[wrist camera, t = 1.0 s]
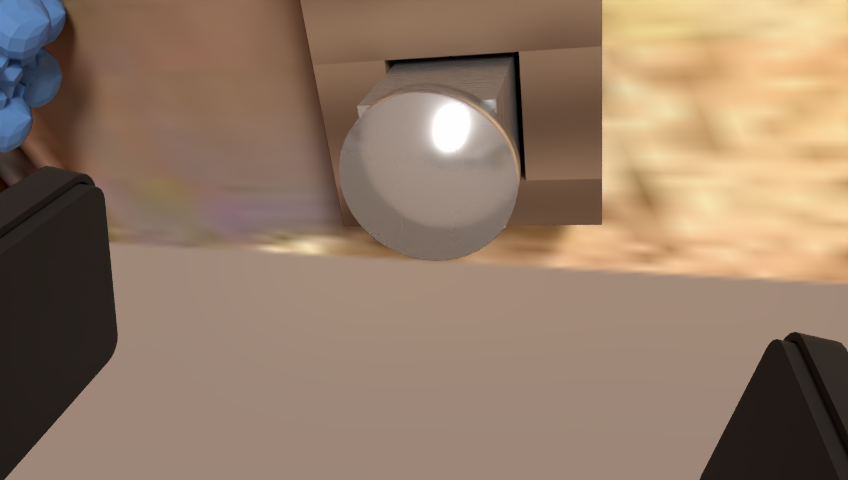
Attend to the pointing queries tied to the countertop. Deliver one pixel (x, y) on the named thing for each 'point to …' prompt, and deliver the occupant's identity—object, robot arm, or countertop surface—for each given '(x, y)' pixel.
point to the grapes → (27, 64)
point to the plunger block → (468, 35)
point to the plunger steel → (436, 155)
